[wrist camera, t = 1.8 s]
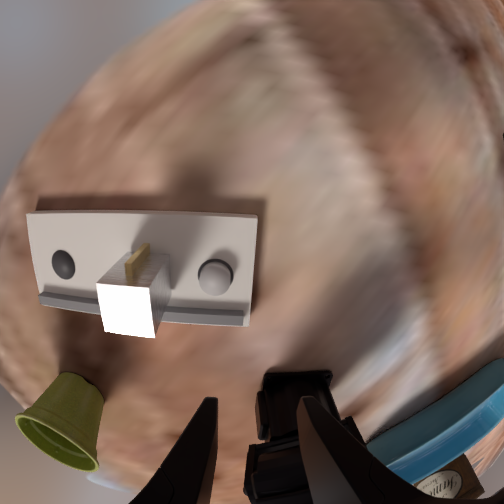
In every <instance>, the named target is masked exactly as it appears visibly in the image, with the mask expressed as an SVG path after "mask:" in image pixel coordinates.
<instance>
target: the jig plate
mask: <svg viewBox="0 0 504 504" xmlns="http://www.w3.org/2000/svg"><path fill="white" fill-rule="evenodd" d="M26 215H27V225H28V233H29V241H30V247H31V254H32V259H33V265H34V270H35V275H36V280H37V284H38V288H39V293H40V294H39V295H38V297H39V301H40V304H43V305H45V306H51V307H56V308H62V309H67V310H73V311H80V312H86V313H93V314H100V315H101V310H100V305H99V299H98V294H97V288H96V282H97V281H98V280H99V279H100V278H101V277H102V276H103V275H104V274H105V273H106V272H107V271H108V270H109V269H110V268H111V267H112V266H113V265H114V264H115V263H116V262H117V261H118V260H119V259H120V258H121V257H122V256H123V255H124V254H125V253H126V252H127V251H130V252H136V251H137V250H138V249H139V248H140V247H141V246H142V244H143V243H150V253H168V254H170V270H171V291H172V295H171V298H170V300H169V303H168V305H167V308H166V310H165V312H164V315H163V317H162V320H161V322H172V323H185V324H200V325H218V326H243V327H249V320H250V308H251V296H252V284H253V271H254V259H255V246H256V234H257V221H258V218H257V215H252V214H235V213H214V212H190V211H156V210H44V211H33V212H30V213H28V214H26Z"/></svg>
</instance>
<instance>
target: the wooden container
mask: <svg viewBox="0 0 504 504" xmlns="http://www.w3.org/2000/svg"><path fill="white" fill-rule="evenodd" d="M414 486H415V487H416V488H418V489H419V490H421V491H423V492H424V493H426V494H429V495H431V496H435V497H440V498H454V499H477V498H478V497H479V496H480V495H482V494H483V493H484V492H485V491H484V489H483V487H482V486H481V484H480V482H479V480H478V478H477V476H476V474H475V472H474V470H473V468H472V466H471V464H470V462H469V461H468V459H467V457H466V455H465V454H464V453H463V454H461V455H460V456H459V457H457V458H456V459H454V460H453V461H451V462H450V463H448V464H447V465H445V466H444V467H442V468H440V469H439V470H437V471H435V472H434V473H432V474H430V475H429V476H427V477H425V478H423V479H422V480H420V481H418V482H416V483H414Z"/></svg>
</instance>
